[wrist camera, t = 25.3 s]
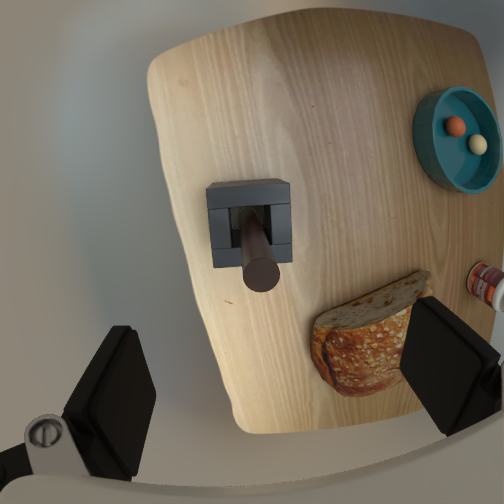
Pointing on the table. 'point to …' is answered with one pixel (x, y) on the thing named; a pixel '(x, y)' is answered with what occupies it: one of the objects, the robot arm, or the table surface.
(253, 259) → the stick
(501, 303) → the pill bottle
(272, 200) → the holder
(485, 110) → the bowl
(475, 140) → the bead
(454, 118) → the bead
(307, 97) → the table surface
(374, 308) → the bread
